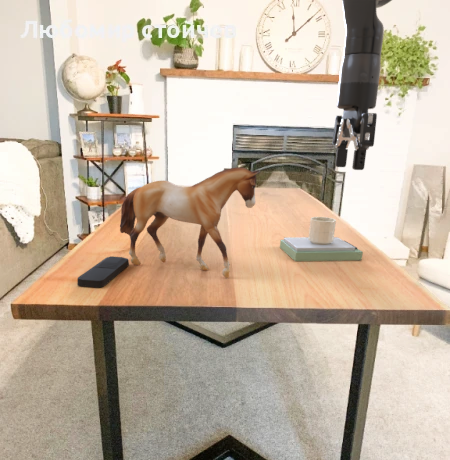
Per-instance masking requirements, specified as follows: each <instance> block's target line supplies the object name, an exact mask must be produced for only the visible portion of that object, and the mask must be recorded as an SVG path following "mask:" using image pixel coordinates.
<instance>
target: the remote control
mask: <svg viewBox="0 0 450 460" xmlns="http://www.w3.org/2000/svg"><path fill="white" fill-rule="evenodd" d="M129 261H130V259H129V258H127V257H122V256H114V255H113V256H107V257H105V258H104V259H102V260H101V261H99V262H98V263H97V264H95V265H94V266H92V267H91V268H89V269H88V270H86V271H84V272H83V273H82V274H81V275H79V276H78V277H77V282H76V283H77V286H78V287H84V288H98V289H99V288H104V287H105V286H106V285H108V284H109V283H110V282H111V281H112V280H113V279H114V278H115V277H117V276H118V275H119V274H121V273H122V272H123V271H124V270H125V269H126V268H128V266H130V262H129Z"/></svg>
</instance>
